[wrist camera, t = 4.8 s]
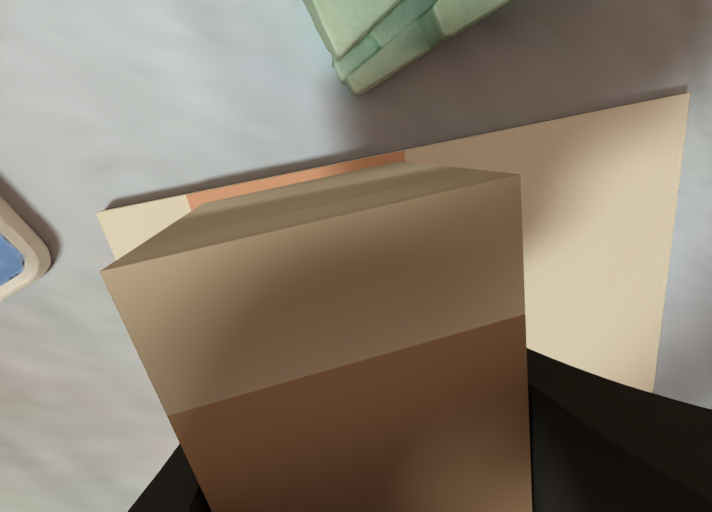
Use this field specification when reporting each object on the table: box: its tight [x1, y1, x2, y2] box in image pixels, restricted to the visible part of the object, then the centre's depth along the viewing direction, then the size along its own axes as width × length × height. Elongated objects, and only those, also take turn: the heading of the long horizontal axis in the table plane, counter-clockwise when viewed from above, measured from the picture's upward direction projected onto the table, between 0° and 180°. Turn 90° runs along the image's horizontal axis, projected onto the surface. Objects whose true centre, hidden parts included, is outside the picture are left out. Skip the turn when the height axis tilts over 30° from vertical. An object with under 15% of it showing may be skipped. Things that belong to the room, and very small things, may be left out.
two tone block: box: [100, 161, 532, 512], centre depth 8 cm, size 9×5×5 cm, turn 11°
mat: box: [96, 93, 690, 393], centre depth 16 cm, size 24×16×1 cm, turn 100°
